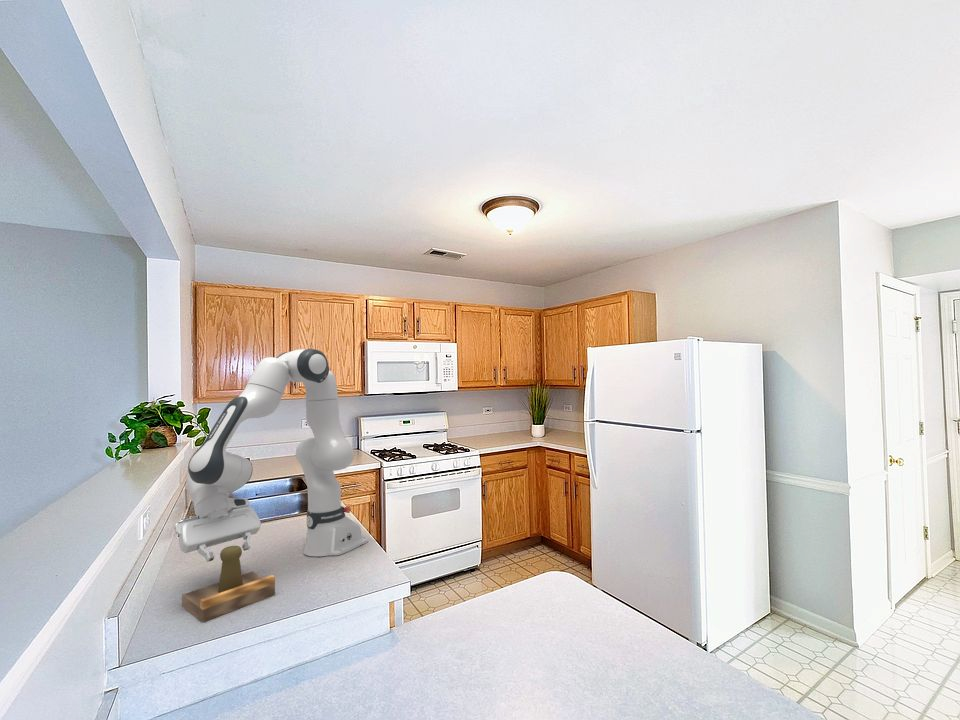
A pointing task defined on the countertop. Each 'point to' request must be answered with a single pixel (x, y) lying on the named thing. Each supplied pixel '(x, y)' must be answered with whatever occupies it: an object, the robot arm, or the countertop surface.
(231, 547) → the cork
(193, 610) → the dock
